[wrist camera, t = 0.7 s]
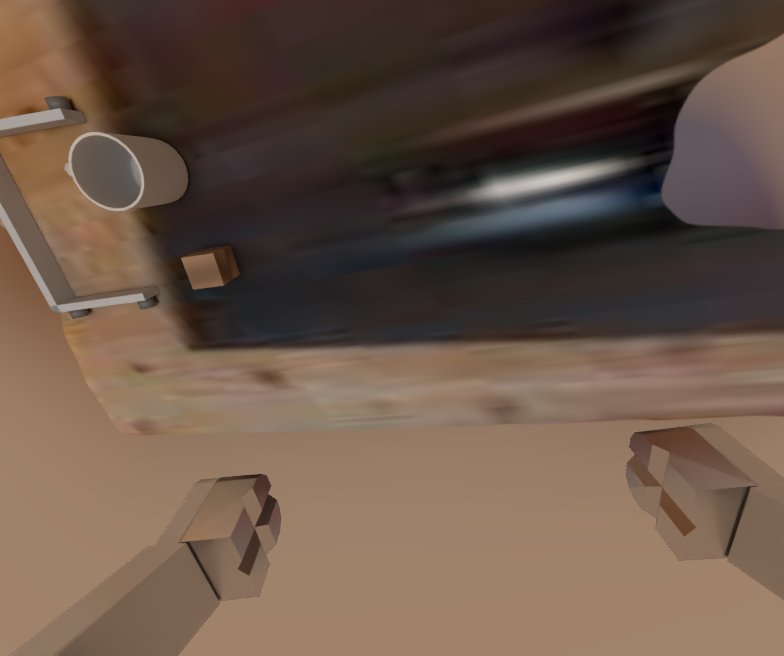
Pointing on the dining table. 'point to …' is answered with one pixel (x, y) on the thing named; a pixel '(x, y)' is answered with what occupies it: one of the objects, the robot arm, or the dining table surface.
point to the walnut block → (211, 267)
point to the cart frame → (10, 206)
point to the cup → (126, 170)
